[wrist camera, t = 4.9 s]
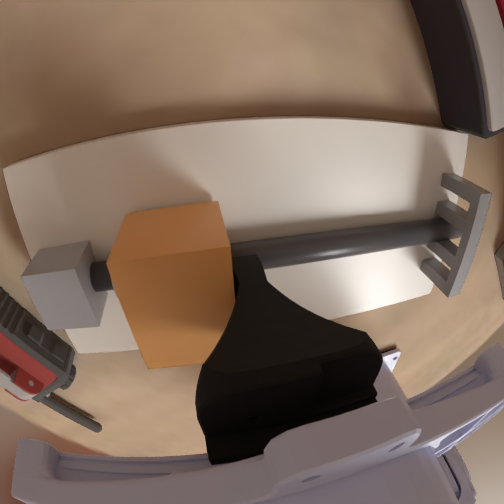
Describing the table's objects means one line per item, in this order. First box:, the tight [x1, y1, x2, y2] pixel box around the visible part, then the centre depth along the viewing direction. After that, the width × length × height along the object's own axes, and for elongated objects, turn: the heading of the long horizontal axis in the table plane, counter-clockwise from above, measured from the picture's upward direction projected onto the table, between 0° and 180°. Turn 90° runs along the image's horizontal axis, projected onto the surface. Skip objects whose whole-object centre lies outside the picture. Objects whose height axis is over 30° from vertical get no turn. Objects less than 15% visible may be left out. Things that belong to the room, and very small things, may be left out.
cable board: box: [3, 116, 492, 354], centre depth 14 cm, size 12×25×4 cm, turn 91°
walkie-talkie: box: [0, 287, 102, 432], centre depth 15 cm, size 9×4×20 cm
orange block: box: [106, 201, 235, 369], centre depth 12 cm, size 5×4×4 cm
